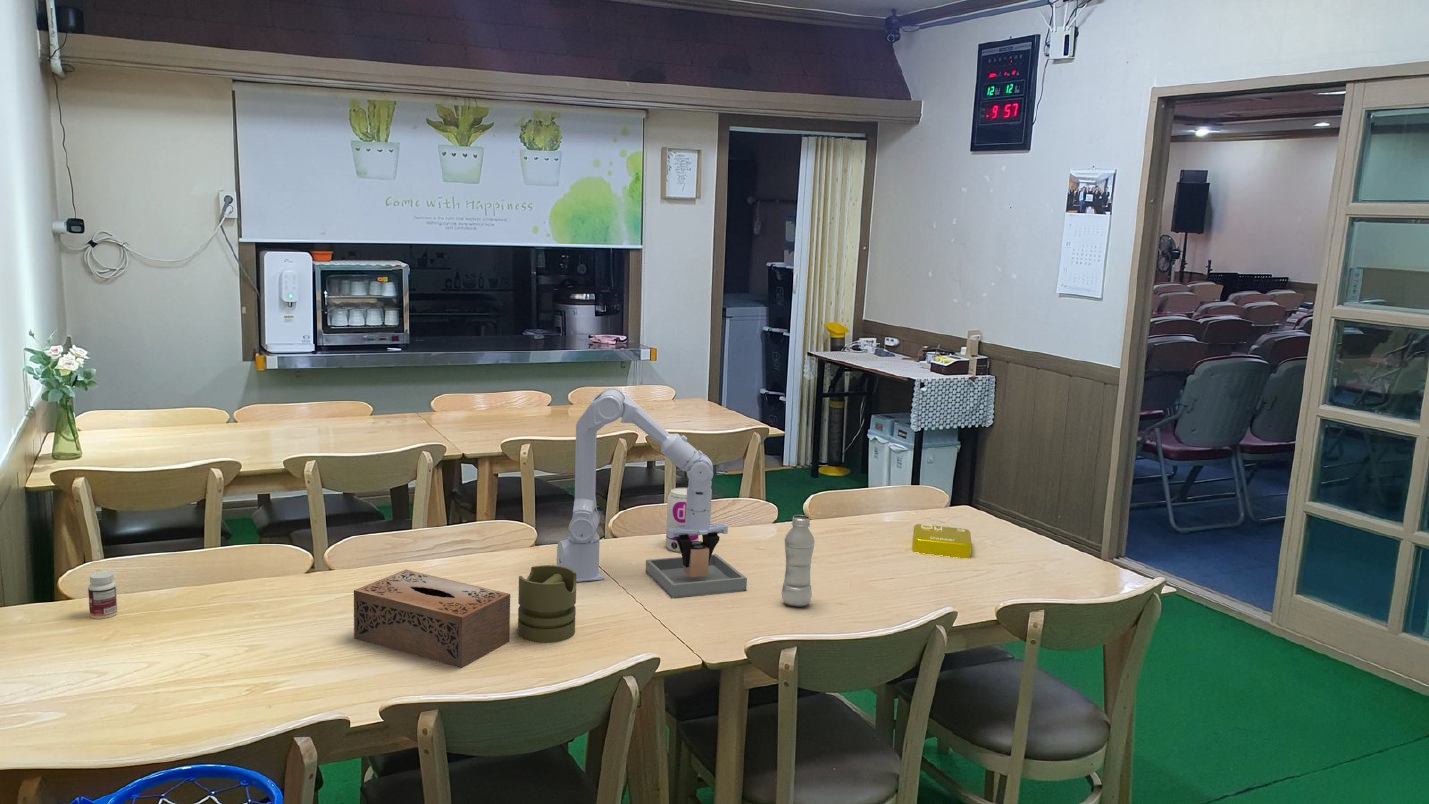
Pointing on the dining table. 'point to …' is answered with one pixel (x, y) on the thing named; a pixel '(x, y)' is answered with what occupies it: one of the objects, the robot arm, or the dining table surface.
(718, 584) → the tray
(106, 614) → the pill bottle
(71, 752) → the dining table surface
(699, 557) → the shaker
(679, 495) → the supplement can
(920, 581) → the dining table surface
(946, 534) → the element tile
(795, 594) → the plastic bottle
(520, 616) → the piston
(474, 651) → the tissue box cover
